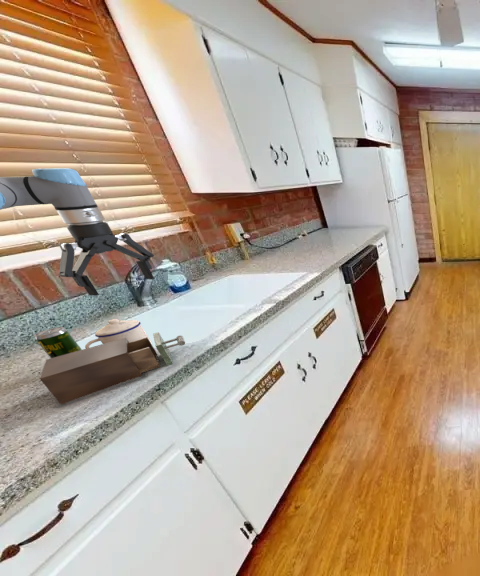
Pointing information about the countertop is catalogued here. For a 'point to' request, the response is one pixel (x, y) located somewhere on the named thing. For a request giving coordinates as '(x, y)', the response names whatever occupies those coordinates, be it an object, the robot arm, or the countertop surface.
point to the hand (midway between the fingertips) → (123, 286)
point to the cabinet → (89, 370)
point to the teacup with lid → (119, 332)
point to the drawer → (151, 352)
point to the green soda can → (57, 342)
